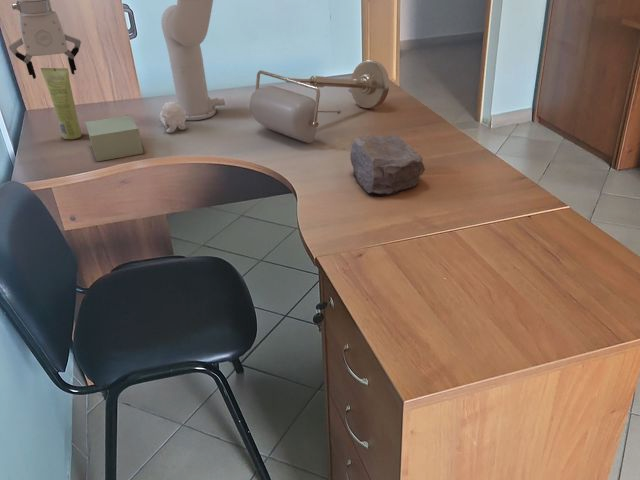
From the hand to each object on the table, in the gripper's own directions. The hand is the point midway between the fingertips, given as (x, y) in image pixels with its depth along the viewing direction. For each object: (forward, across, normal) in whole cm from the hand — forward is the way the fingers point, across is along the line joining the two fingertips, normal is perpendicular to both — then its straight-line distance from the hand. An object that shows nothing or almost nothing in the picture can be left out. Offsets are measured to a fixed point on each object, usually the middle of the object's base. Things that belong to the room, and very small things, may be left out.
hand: (54, 75), depth 160 cm
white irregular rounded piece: (+17, +28, -6) cm, 33 cm away
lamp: (+17, +71, -23) cm, 76 cm away
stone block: (+17, +67, -68) cm, 97 cm away
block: (+18, +11, -16) cm, 26 cm away
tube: (+18, +1, 0) cm, 18 cm away
